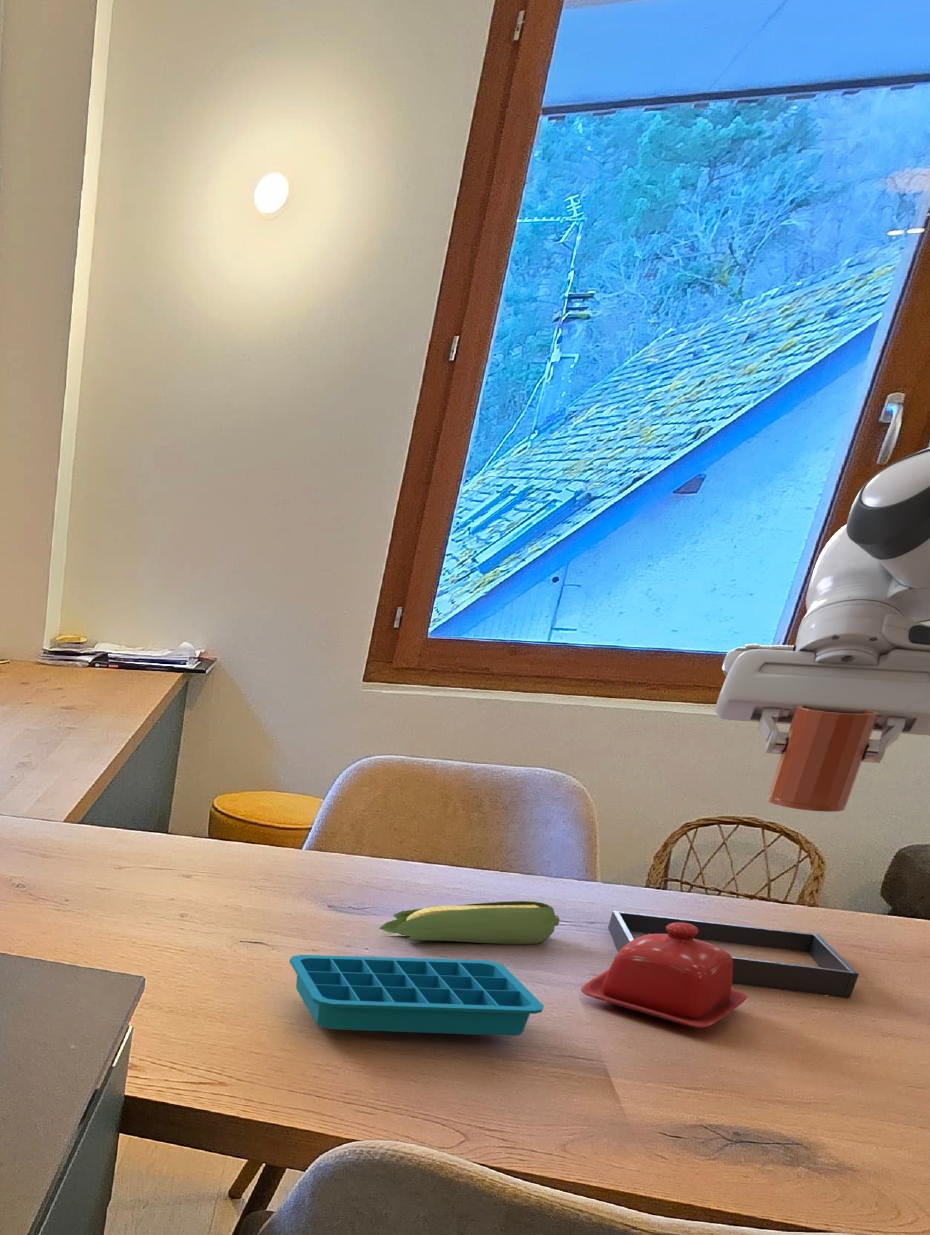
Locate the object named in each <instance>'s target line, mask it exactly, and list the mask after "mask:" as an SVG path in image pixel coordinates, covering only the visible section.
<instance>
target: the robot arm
mask: <svg viewBox="0 0 930 1235" xmlns="http://www.w3.org/2000/svg"><path fill="white" fill-rule="evenodd" d="M805 608H806V611H807V612H806V614H805V615H804V617H803V618H802V620H801V621H800V624H799V627H798V630H797V636H796V639H795V644H794V645H783V644H782V645H781V644H780V645H777V644H774V645H762V644H759V643H758V644H757V643H746V644H744V646H742V647H741V646H740V647H737V648H733V649H731V650H729V651H728V652H727V653H726V655H725V656H724V659H723V663H722V666H721V669H722V673H723V674H724V676H725V679H724V682H723V684H722V687H721V690H720V692H719V695H718V698H717V702H716V704H715V708H714V712H715V714H716V715H717V716H718V717H719V718H720V719H721V720H724V721H725V720H726V721H737V722H752V723H758V725H757V729H758V731H759V732H760V734H761V735H762V737H763V739H764V740H765V741H766V742H767V743H766V745H765V746H766V747H765V750H764V753H765V754H774V755H781V754H782V753H783V750H784V749H785V746H786V743H787V741H786V740H787V738H788V731H787V732H785V731H780V729H779V727H778V726H777V725H790V726H791V722H792V719H793V716H794V713H795V710H796V707H797V706H799V705H807V706H806V708H807V709H810V710H817V711H827V712H841V713H855V714H862V713H864V712H865V710H873V711H876V712H879V715H878V717H877V720H876V723H875V726H874V729H873V732H880V738H879V739H873V738H870V740H869V743H868V745H867V749H866V751H865V755H864V757H863V760H862V763H874V764H880V763H881V761H882V760H883V758H884V756H885V753H886V749H887V748H889V747H890V746H891V745H893V743H895V742H896V741H898V740H899V737H900V735H901V734H904V735H905V734H906V735H919V736H928V737H929V736H930V625H927V624H924V623H926V622H930V447H927V448H925V449H921V450H920V451H917V452H915V453H912V454H908V455H907V456H905V457H902V458H900V459H898V460H896V461H894V462H892V463H889V464H887V466H885V467H883V468H881V470H879V471H878V472H876V473H875V474H874V475H872V476H871V477H870V478H869V479H868V480H866V482H865V483H864V484H863V486H862V487H861V489H860V490H859V492H858V493H857V495H856V497H855V499H854V500H853V503H852V505H851V508H850V510H849V513H848V517H847V521H846V524H845V525H844V526H842V527H840V529H838V530H837V531H836V532H835V533H834V535H832V537H831V538H830V539H829V540H828V542H827V543H826V544H825V546H824V548H822V551H821V552H820V554H819V556H818V558H817V561H816V563H815V565H814V567H813V570H812V575H811V576H810V580H809V584H808V588H807V592H806V597H805Z"/></svg>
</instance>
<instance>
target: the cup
mask: <svg viewBox="0 0 930 1235" xmlns="http://www.w3.org/2000/svg"><path fill="white" fill-rule="evenodd" d="M806 706H807V705H799V706H797V707H796V710H795V713H794V716H793V719H792V722H791V725H790V726H789V728H788V731H787V733H788V738H787V740H786V741H787V743H786V746H785V749H784V750H783V753H782V754H780V757H779V759H778V763H777V766H776V768H775V773H774V775H773V779H772V781H771V785H770V788H769V791H768V796H767V802H769V803H771V804H773V805H777V806H779V807H784V808H789V809H795V810H801V811H802V810H803V811H812V812H823V813H824V812H828V813H829V812H830V813H831V812H834V813H835V812H842V811H845V810H846V807H847V804H848V803H849V801H850V797H851V796H852V792H853V789H854V786H855V783H856V781H857V778H858V774H859V771H860V769H861V766H862V763H863V762H862V760H863V757H864V755H865V751H866V749H867V745H868V743H869V740H870V739H871V737H872V735H873V732H874V731H873V729H874V726H875V723H876V720H877V717H878V715H879V712H876V711H873V710H865V712H864V713H862V714H855V713H841V712H827V711H817V710H810V709H807V708H806Z"/></svg>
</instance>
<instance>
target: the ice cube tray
mask: <svg viewBox="0 0 930 1235" xmlns="http://www.w3.org/2000/svg"><path fill="white" fill-rule="evenodd" d="M289 964H290V965H291V967H292V969H293V971H294V972H295V973H296V984H295V989H296V991H297V992H298V994H299V996H300V998H301V999H302V1001H303V1003H304V1004H305V1006H306V1008H307V1010H308V1011H309V1013H310V1016H311V1017H312V1019H313V1020H314V1022H315V1025H317V1026H319V1027H321V1028H324V1029H330V1030H340V1031H341V1030H343V1031H344V1030H345V1031H346V1030H347V1031H368V1032H369V1031H371V1032H372V1031H373V1032H397V1033H423V1034H424V1033H425V1034H426V1033H427V1034H451V1035H452V1034H456V1035H477V1036H478V1035H481V1036H482V1035H483V1036H508V1037H509V1036H510V1037H511V1036H512V1037H514V1036H515V1037H516V1036H520V1035H522V1034H523V1033H524V1031H525V1028H526V1025H527V1023H528V1020H529V1017H530V1015H531V1014H533V1015H535V1014H540V1013H542V1011H543V1010H544V1006H545V1005H544V1004H543V1003H542V1002H541V1001H540V1000H539V999H538V998H537V997H536V996H535V995H534V994H533V993H532V992H531V991H530V990H529V989H528V988H527V987H526V986H525V985H524V984H523V983H522V982H521V981H520V980H519V979H518V978H517V977H516V976H515V975H514V974H513V972H511V971H509V969H508V968H507V967H506V966H505V965H504V964H502V963H499V962H497V961H492V960H487V959H461V958H460V959H459V958H427V957H426V958H424V957H389V956H358V955H357V956H355V955H327V954H326V955H324V954H322V955H321V954H296V955H292V956H291V957H290V958H289Z"/></svg>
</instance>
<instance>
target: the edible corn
mask: <svg viewBox="0 0 930 1235" xmlns="http://www.w3.org/2000/svg"><path fill="white" fill-rule="evenodd" d="M392 916H393V917H394V919H393V920H390V921H386V922H385V923H384V924H383V925H381V926H380V927H379V928H378V929H379V930H381V931H384V932H386V933H389V934H391V933H399V934H401V935H406V936H405V937H407V938H405V939H404V941H431V942H443V941H445V942H454V944H455V943H457V942H459V943H475V944H480V945H481V944H482V943H483V944H497V945H498V944H499V945H534V944H535V945H539V944H540V943H543V942H544V941H546V940H547V939H548V938H550V937H551V936H552V935H553V933H554V932H555V927H558V926H559V924H560V917H559V915H558V914H557V915H556V912H555V910H554V907H552V906H551V905H549V904H547V903H543V902H539V901H530V900H529V901H528V900H517V901H516V900H515V901H514V900H513V901H511V900H510V901H495V902H494V901H493V902H479V903H468V904H457V905H456V904H455V905H454V904H453V905H452V904H451V905H438V906H437V905H436V906H427V907H424V908H416V909H409V910H402V911H399V912H397V913H394V914H393V915H392Z"/></svg>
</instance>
